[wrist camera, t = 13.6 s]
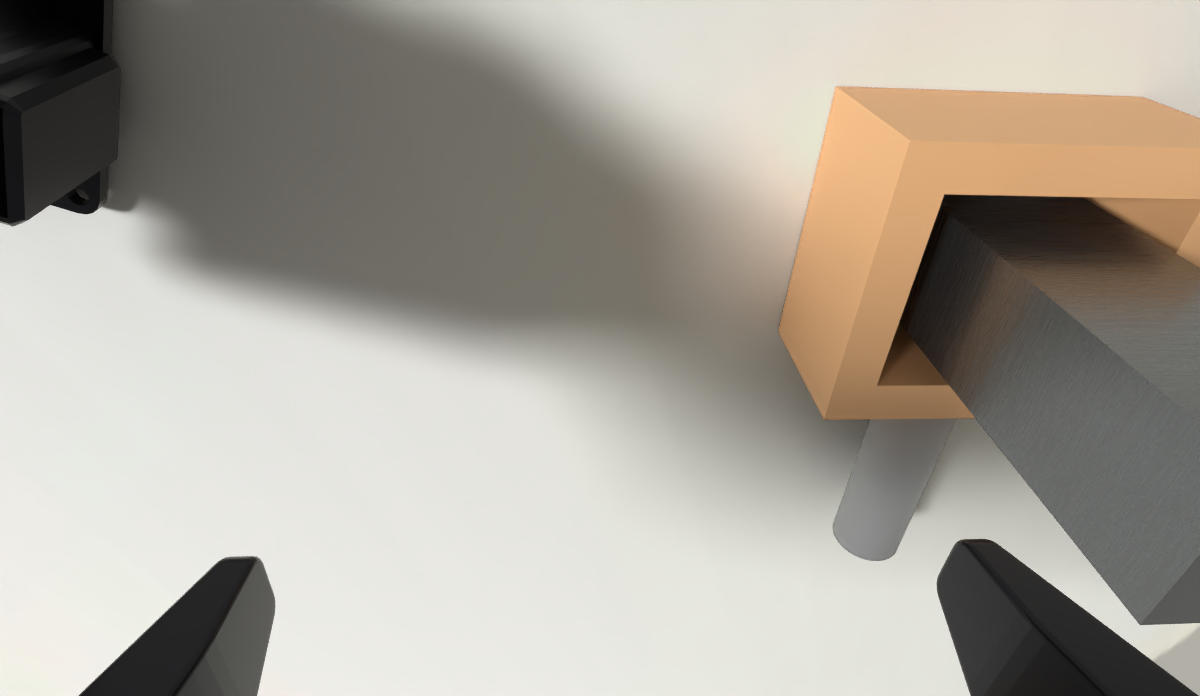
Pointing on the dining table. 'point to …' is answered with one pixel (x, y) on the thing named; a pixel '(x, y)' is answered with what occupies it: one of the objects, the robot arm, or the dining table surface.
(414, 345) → the dining table surface
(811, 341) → the bracket head
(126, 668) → the robot arm
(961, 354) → the dark grey long block
